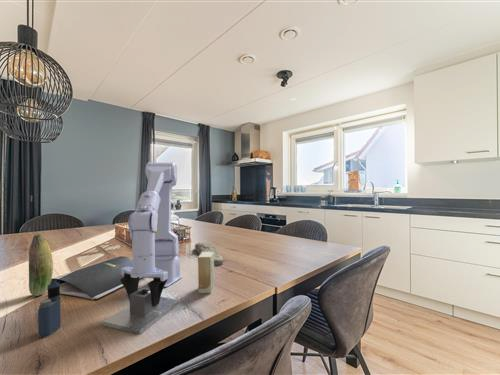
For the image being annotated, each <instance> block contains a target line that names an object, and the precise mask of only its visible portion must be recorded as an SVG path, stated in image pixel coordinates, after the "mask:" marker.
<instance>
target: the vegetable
mask: <svg viewBox="0 0 500 375" xmlns="http://www.w3.org/2000/svg"><path fill="white" fill-rule="evenodd" d="M53 260H54V259H53V255H52V250H51V247H50V245H49V242H48V241H47V240H46V239H45V238H44V236H43V235H42V234H35V235H34V236H33V238H32V240H31V244H30V246H29V251H28V289H29V293H30V294H31V295H32V296H35V297H39V296H42V295H43V294H44V293H46V292H47V291H48V285H49V284H51V281H52V278H53V272H54V261H53Z"/></svg>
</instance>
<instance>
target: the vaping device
mask: <svg viewBox="0 0 500 375" xmlns="http://www.w3.org/2000/svg"><path fill="white" fill-rule="evenodd" d="M60 286H61V284H60V282H57V279H53V280H52V279H51V282H50V284H49V285H48V289H47V298H46V299H43V300H41V301H40V304H39V306H38V310H37V330H38V331H37V332H38V336H39V338H47V337H50V336H51V335H52V334H53V333H55V332H56V331H57V330H59V329H60V328H61V326H62V322H61V319H62V318H61V316H62V315H61V313H62V312H61V290H60V289H61V287H60Z"/></svg>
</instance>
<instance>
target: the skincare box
mask: <svg viewBox="0 0 500 375" xmlns="http://www.w3.org/2000/svg"><path fill="white" fill-rule="evenodd" d="M197 266H198V268H197V271H198V272H197V273H198V277H197V280H198V281H197V282H198V286H197V287H198V290H197V291H198V294H211V293H212V292H213V290H214V286H215V269H214V268H215V265H214V252H202V253H201V254H199V255H198V257H197Z"/></svg>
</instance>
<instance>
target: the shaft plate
mask: <svg viewBox="0 0 500 375" xmlns="http://www.w3.org/2000/svg"><path fill="white" fill-rule="evenodd" d="M179 304H181V300H180V299H176V298H172V297H163V296H161V297H160V301H159V304H158V305H157V308H155V309H154V310H152V311H151V312H150V313H148V314H147V315H145V316H142V315H137V314H132V313H130V304H129V305H128V306H126V307H124V308H122V309H121V310H119V311H117V312H116V313H114V314H112V315H111V316H110V317H108V318H106V319H104V320H103V321H102V326H103V327H108V328H113V329H117V330H122V331H124V332H125V331H127V332H130V333H135V334H138V335H141V334H143V333H144V332H145V331H146V330H148V329H149V328H150V327H151V326H153V325H155V323H157V322H158V321H159V320H160V319H162V318H163V317H164V316H165V315H167V314H168V313H169V312H171V311H172V310H173V309H174V308H176V307H177V306H178V305H179Z"/></svg>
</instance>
